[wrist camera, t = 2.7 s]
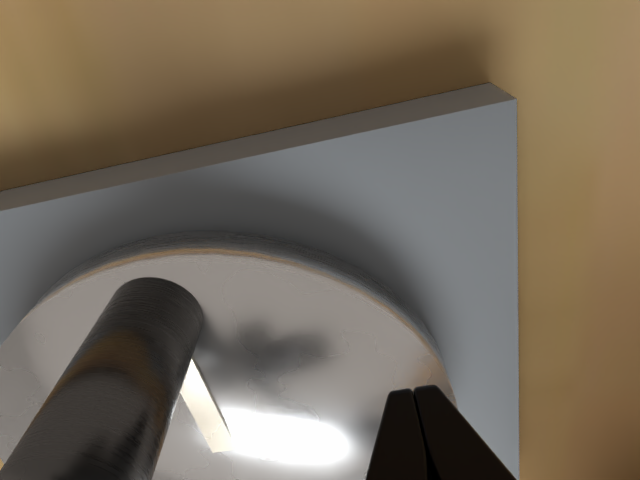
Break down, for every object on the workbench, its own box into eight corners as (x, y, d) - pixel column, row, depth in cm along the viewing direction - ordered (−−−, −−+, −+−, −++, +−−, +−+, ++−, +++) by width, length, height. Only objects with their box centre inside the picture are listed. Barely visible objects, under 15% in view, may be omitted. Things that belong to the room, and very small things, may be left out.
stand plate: (490, 82, 13) (519, 100, 11) (503, 466, 22) (521, 512, 20) (-127, 219, 15) (-190, 254, 13) (112, 519, 24) (95, 565, 22)
